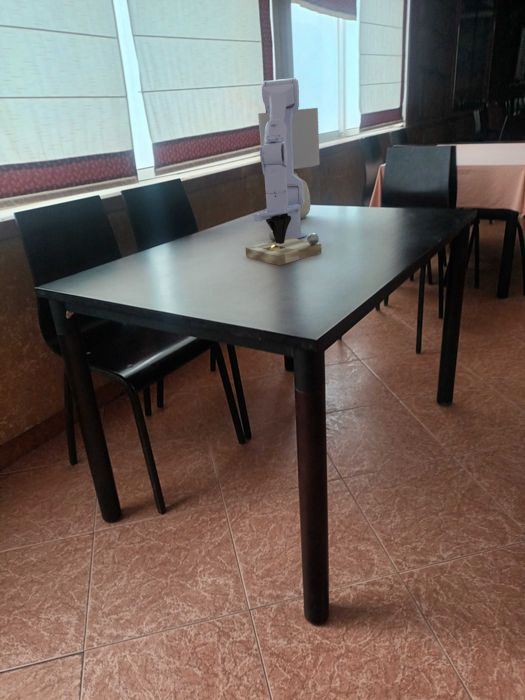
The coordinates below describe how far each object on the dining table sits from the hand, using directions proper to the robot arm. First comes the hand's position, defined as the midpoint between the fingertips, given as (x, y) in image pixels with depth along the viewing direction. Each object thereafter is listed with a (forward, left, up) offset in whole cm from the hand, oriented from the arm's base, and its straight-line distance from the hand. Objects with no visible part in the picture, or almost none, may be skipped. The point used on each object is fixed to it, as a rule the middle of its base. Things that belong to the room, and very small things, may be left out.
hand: (280, 243), depth 136 cm
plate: (0, +1, -3) cm, 3 cm away
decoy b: (+6, +6, +1) cm, 9 cm away
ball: (0, -2, -2) cm, 3 cm away
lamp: (-38, +36, -4) cm, 52 cm away
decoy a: (-6, +3, +1) cm, 7 cm away
